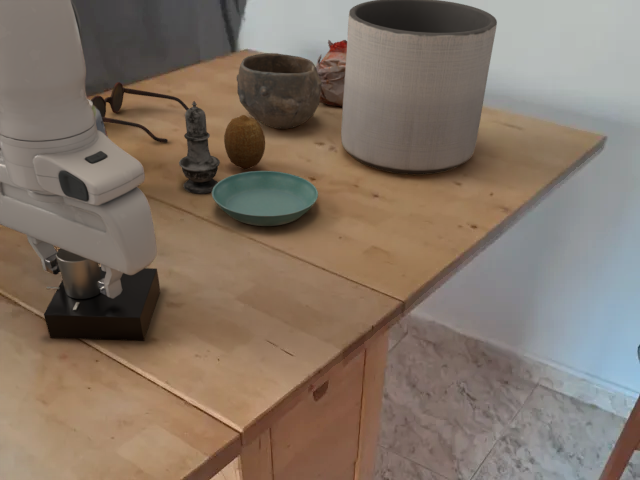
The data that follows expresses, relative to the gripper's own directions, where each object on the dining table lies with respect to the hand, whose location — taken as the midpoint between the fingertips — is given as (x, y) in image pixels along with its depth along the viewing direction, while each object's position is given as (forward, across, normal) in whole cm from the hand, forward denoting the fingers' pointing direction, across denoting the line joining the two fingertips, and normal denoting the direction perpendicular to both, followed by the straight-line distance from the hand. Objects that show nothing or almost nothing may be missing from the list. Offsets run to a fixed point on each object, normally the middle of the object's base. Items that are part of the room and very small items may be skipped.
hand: (82, 282), depth 74 cm
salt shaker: (+4, -10, +33) cm, 35 cm away
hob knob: (+1, 0, 0) cm, 1 cm away
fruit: (+4, -9, +42) cm, 44 cm away
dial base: (+4, +2, +1) cm, 4 cm away
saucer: (+4, +2, +32) cm, 33 cm away
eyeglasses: (+4, -34, +47) cm, 58 cm away
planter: (+4, +9, +63) cm, 64 cm away
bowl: (+4, -16, +62) cm, 64 cm away
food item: (+4, -14, +80) cm, 81 cm away
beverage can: (+4, -22, +24) cm, 33 cm away
